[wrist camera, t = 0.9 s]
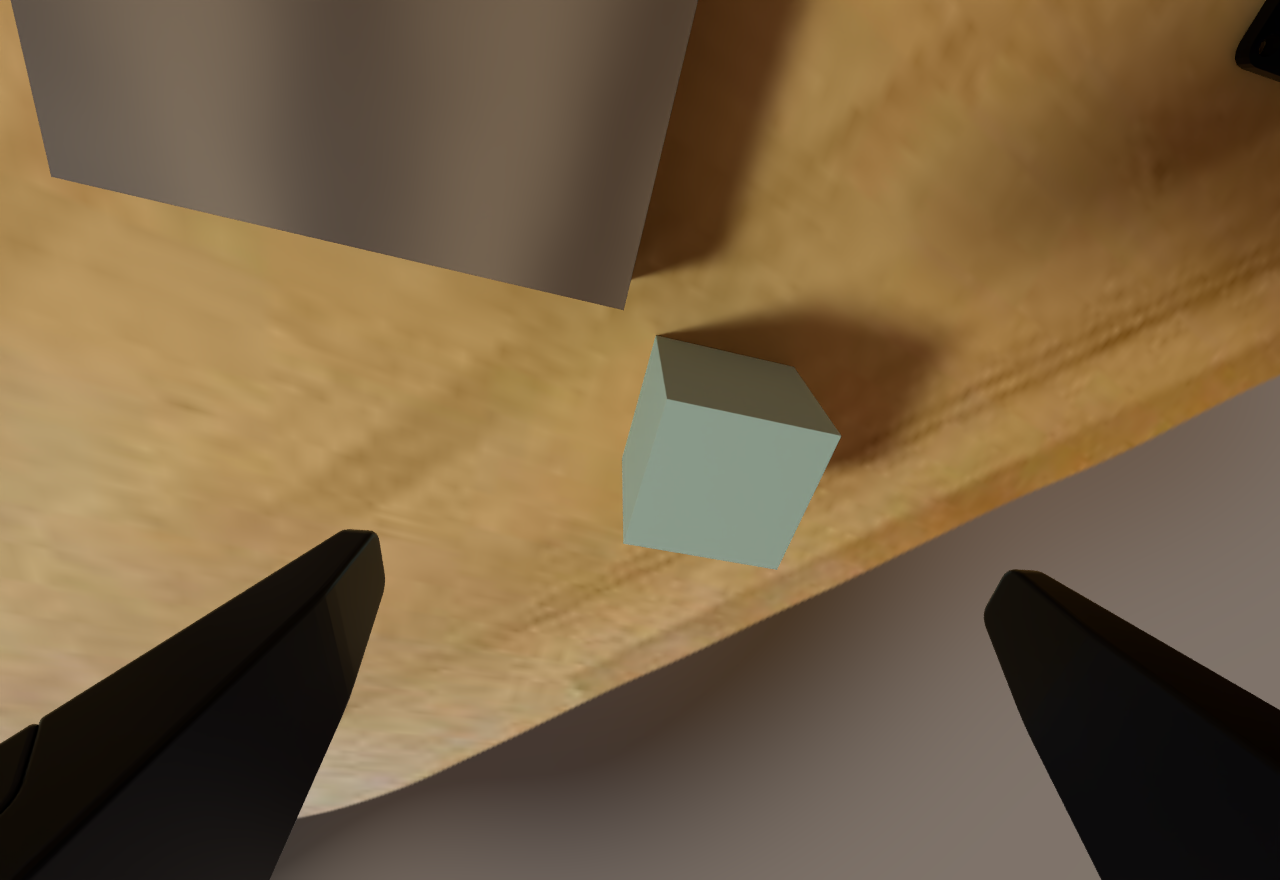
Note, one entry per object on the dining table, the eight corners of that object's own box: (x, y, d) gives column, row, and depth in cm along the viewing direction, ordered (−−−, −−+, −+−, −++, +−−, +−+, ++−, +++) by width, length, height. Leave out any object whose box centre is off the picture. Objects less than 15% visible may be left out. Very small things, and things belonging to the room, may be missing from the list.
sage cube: (793, 365, 20) (841, 436, 16) (746, 481, 23) (777, 569, 18) (655, 334, 19) (667, 398, 15) (622, 457, 22) (623, 543, 17)
